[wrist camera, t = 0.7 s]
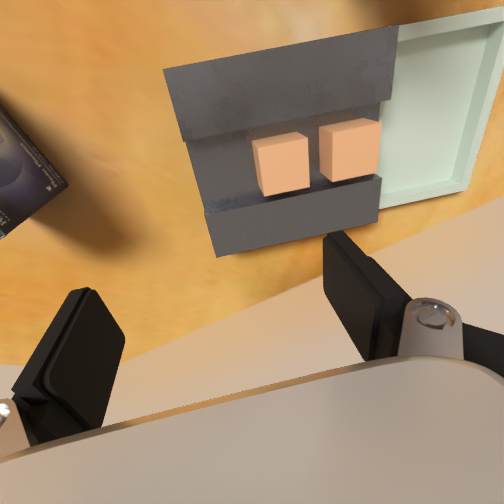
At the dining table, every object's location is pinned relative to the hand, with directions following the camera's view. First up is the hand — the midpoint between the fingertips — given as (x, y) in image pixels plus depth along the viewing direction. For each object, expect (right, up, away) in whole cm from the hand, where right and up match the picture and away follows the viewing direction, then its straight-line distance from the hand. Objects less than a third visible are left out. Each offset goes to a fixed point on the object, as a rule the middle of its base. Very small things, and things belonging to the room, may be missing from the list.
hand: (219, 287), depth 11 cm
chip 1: (+4, +10, +13) cm, 17 cm away
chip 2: (+9, +11, +14) cm, 20 cm away
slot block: (+4, +12, +16) cm, 20 cm away
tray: (+18, +15, +17) cm, 29 cm away
